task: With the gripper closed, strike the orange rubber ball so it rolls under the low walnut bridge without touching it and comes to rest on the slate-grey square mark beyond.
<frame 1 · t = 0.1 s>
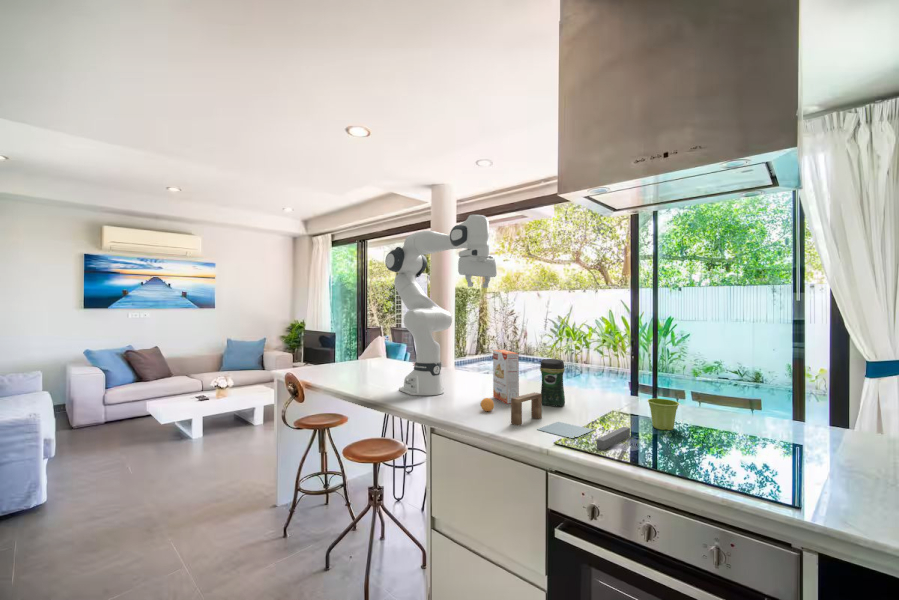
hand: (478, 287, 169), 48 cm above the worktop, tool pointing down, fingers open, 8 cm apart
coffee jar: (552, 405, 168), on the worktop
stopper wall: (614, 441, 121), on the worktop
bridge: (526, 420, 143), on the worktop
cracker box: (505, 400, 175), on the worktop
plant pot: (663, 428, 136), on the worktop
ball: (487, 404, 156), on the worktop
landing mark: (565, 430, 133), on the worktop
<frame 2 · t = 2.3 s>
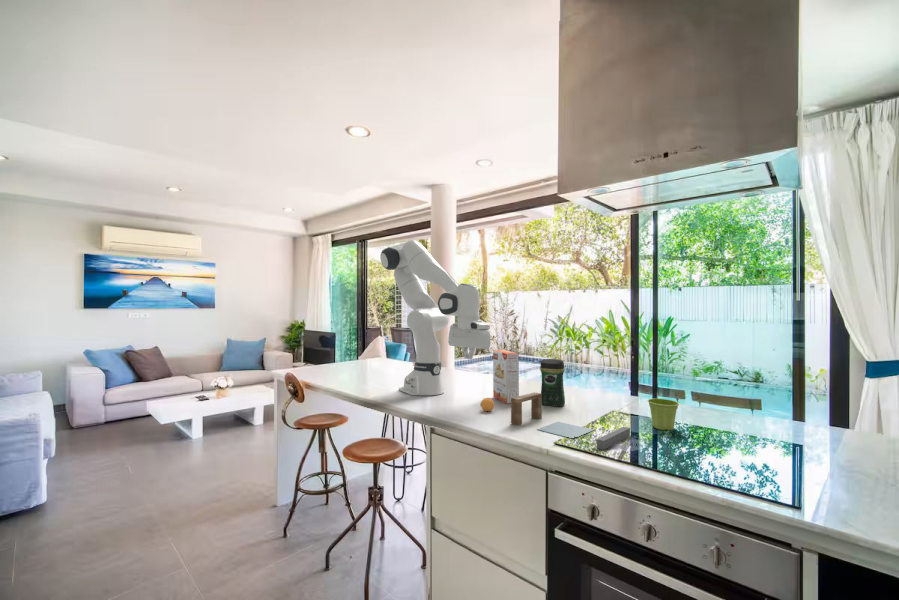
hand: (468, 358, 164), 19 cm above the worktop, tool pointing down, fingers closed
nothing on the worktop moved.
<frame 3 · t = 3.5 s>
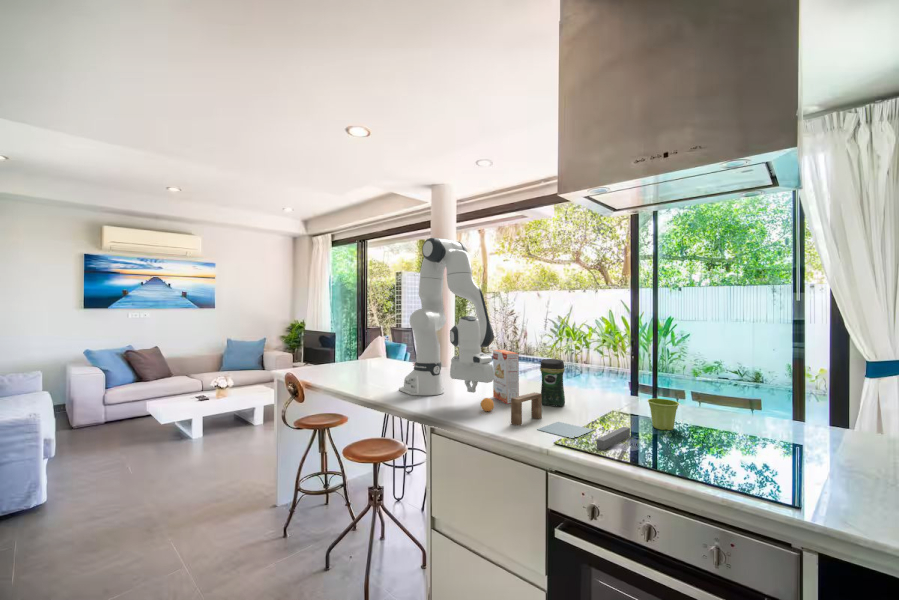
hand: (471, 392, 163), 6 cm above the worktop, tool pointing down, fingers closed
nothing on the worktop moved.
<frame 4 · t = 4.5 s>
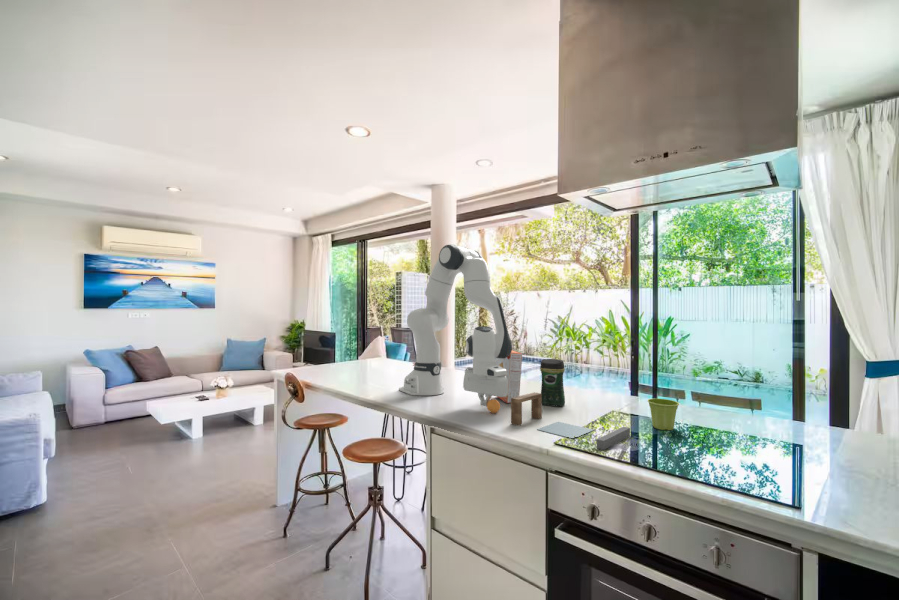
hand: (484, 405, 157), 2 cm above the worktop, tool pointing down, fingers closed
ball: (493, 406, 154), on the worktop
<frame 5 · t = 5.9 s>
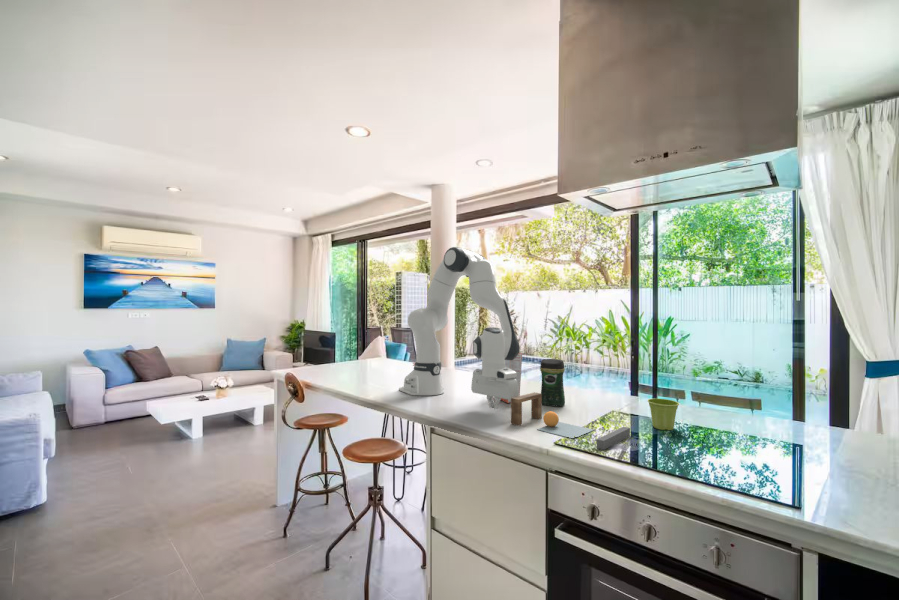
hand: (493, 408, 154), 2 cm above the worktop, tool pointing down, fingers closed
cracker box: (505, 400, 175), on the worktop, touching arm
ball: (550, 419, 137), on the worktop
everything else where it was.
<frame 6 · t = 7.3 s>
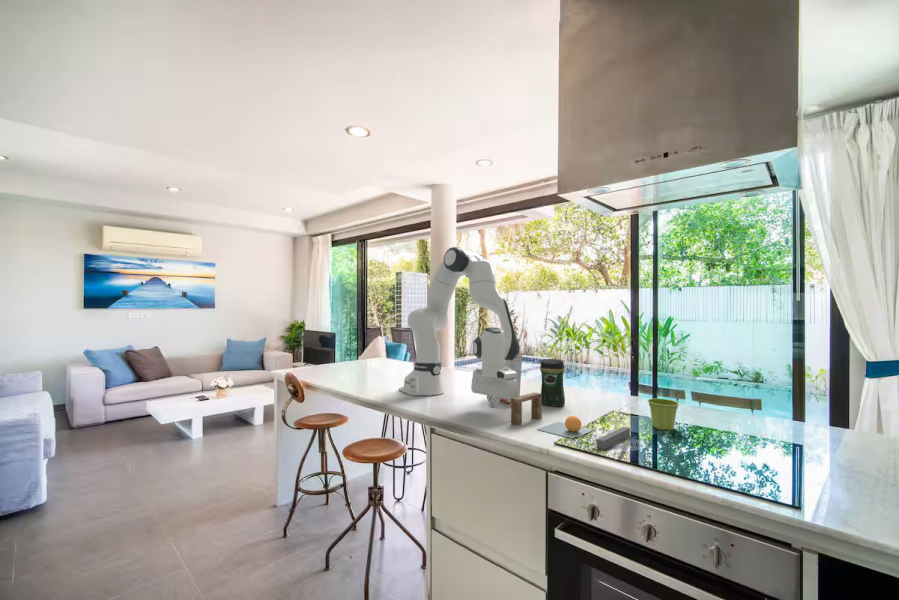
hand: (493, 408, 154), 2 cm above the worktop, tool pointing down, fingers closed
ball: (573, 423, 131), on the worktop
everything else where it was.
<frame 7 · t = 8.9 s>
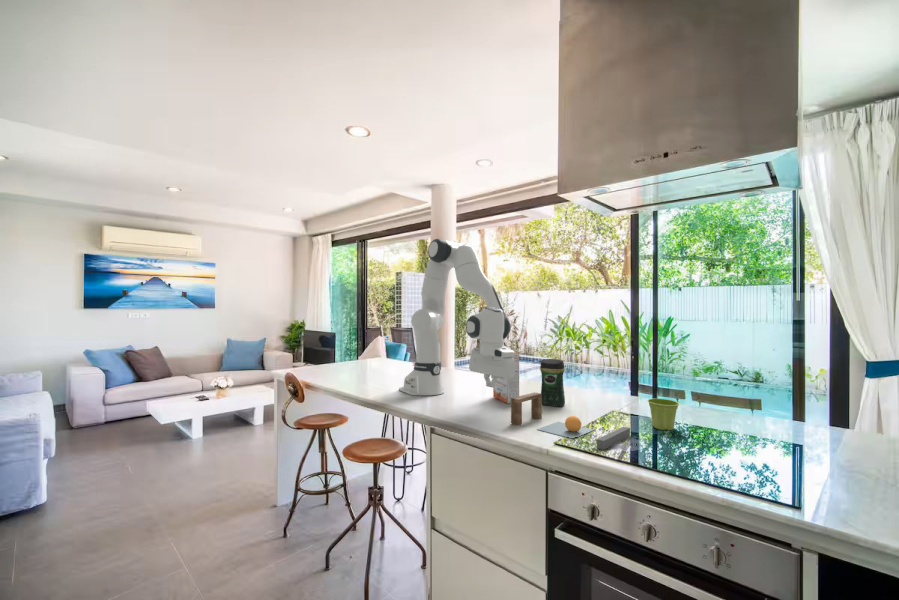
hand: (490, 386, 154), 10 cm above the worktop, tool pointing down, fingers closed
cracker box: (505, 400, 175), on the worktop
everything else where it was.
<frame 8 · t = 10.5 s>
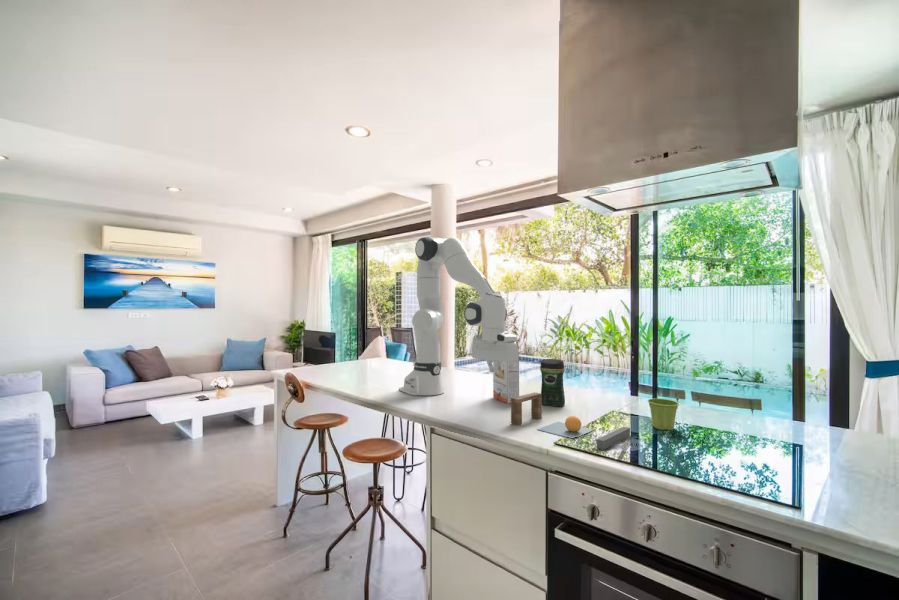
hand: (493, 372, 154), 15 cm above the worktop, tool pointing down, fingers closed
nothing on the worktop moved.
at the end: ball 2.7 cm from the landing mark (horizontally); ball never touched bridge; ball at rest at the end (0.0 cm/s) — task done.
